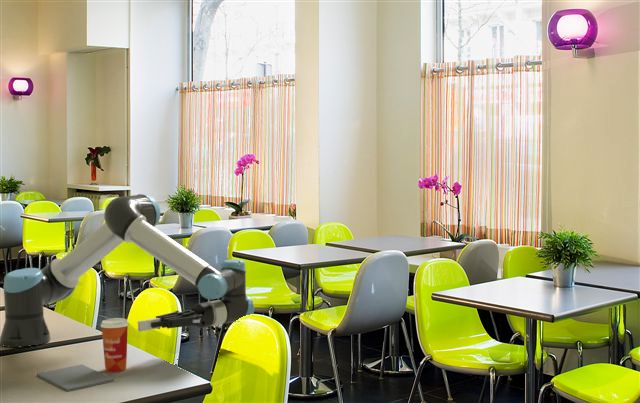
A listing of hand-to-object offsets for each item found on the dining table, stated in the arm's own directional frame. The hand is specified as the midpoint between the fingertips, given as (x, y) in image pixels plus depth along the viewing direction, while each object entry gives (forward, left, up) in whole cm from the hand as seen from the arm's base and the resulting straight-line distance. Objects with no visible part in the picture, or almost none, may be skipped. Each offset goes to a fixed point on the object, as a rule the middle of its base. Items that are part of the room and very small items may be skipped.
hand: (139, 326), depth 221 cm
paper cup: (0, -8, -11) cm, 14 cm away
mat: (0, -20, -11) cm, 22 cm away
